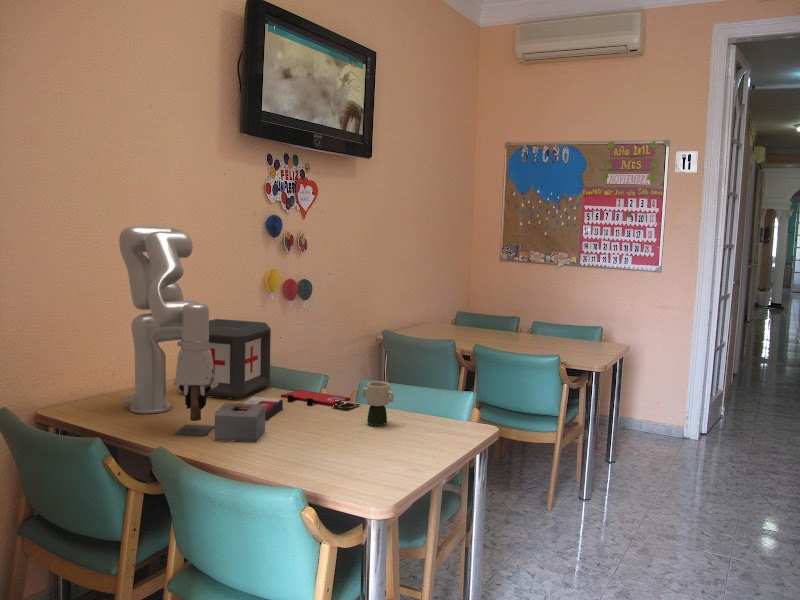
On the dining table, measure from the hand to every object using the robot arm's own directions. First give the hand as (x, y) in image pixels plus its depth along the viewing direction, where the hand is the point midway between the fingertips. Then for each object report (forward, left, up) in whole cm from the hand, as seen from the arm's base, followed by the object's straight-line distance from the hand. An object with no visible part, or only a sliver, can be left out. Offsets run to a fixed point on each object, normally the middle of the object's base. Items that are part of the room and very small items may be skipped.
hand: (195, 407), depth 200 cm
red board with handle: (+31, +41, -8) cm, 52 cm away
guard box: (+14, -2, -7) cm, 16 cm away
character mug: (+53, +15, -8) cm, 56 cm away
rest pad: (0, 0, -7) cm, 7 cm away
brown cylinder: (0, 0, -4) cm, 4 cm away
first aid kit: (-5, +51, -8) cm, 52 cm away
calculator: (+14, +22, -8) cm, 27 cm away
